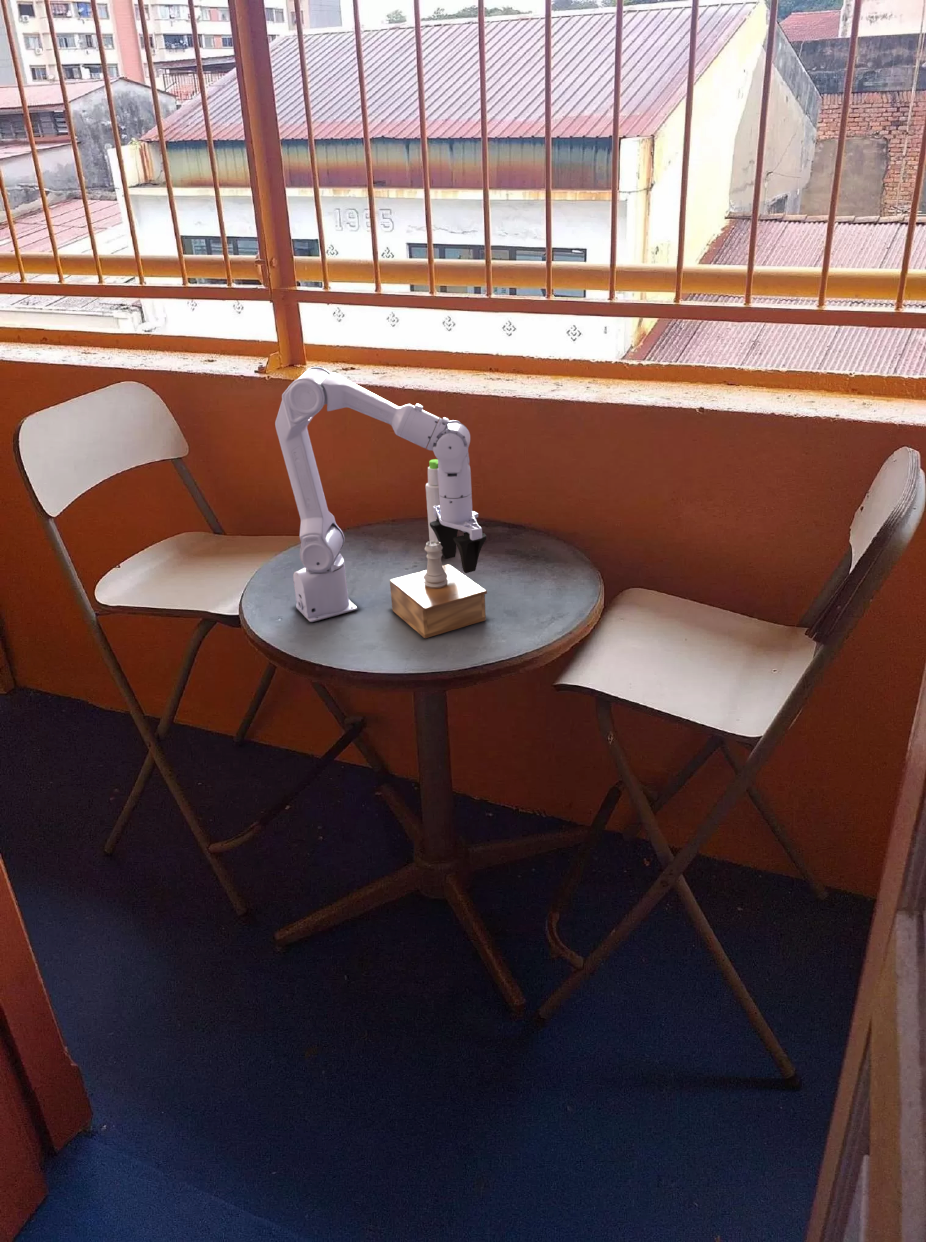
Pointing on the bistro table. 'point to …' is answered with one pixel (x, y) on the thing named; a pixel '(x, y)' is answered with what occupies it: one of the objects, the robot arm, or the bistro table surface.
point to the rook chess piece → (434, 566)
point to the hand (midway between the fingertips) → (459, 564)
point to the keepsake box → (438, 614)
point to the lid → (438, 589)
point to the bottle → (432, 495)
